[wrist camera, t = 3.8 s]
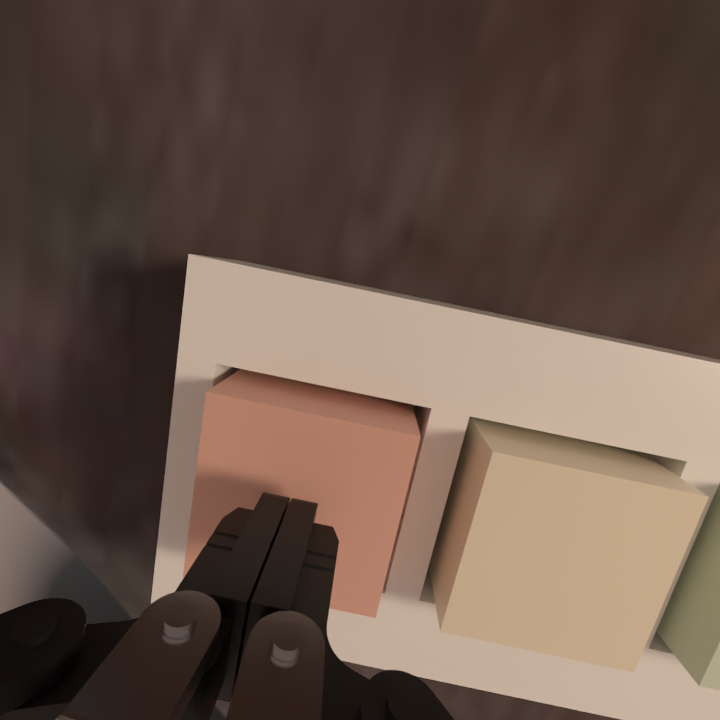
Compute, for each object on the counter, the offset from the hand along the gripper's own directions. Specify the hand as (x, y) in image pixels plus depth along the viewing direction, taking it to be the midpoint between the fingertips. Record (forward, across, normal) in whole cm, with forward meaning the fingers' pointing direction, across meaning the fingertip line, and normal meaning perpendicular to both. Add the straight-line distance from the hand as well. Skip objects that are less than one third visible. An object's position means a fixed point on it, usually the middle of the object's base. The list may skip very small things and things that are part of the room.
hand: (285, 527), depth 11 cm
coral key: (+4, 0, 0) cm, 4 cm away
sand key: (+4, -8, 0) cm, 9 cm away
